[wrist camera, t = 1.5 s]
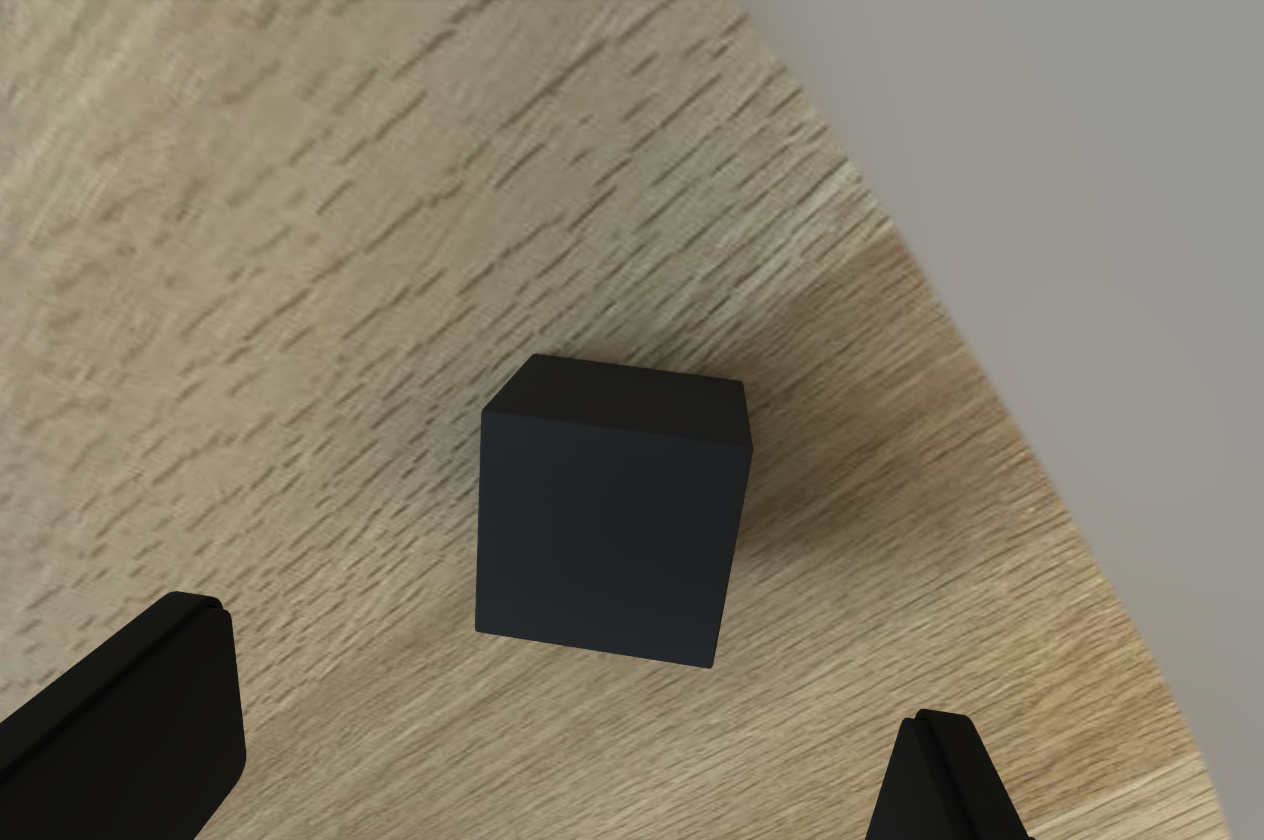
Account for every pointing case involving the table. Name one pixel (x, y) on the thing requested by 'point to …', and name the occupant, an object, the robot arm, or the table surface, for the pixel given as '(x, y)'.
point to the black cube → (610, 508)
